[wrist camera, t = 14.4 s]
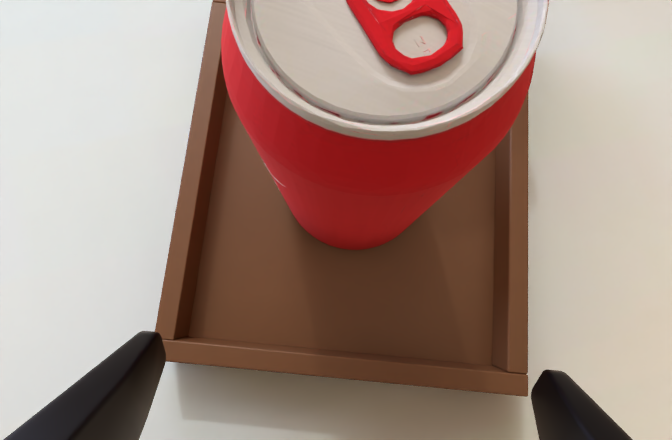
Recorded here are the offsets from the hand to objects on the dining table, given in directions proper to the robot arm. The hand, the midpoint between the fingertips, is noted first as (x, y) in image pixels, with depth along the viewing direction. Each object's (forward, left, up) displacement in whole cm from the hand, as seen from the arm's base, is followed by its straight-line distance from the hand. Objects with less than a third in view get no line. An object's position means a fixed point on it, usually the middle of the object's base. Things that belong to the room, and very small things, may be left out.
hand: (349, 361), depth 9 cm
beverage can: (+6, 0, -8) cm, 10 cm away
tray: (+7, 0, -8) cm, 11 cm away
